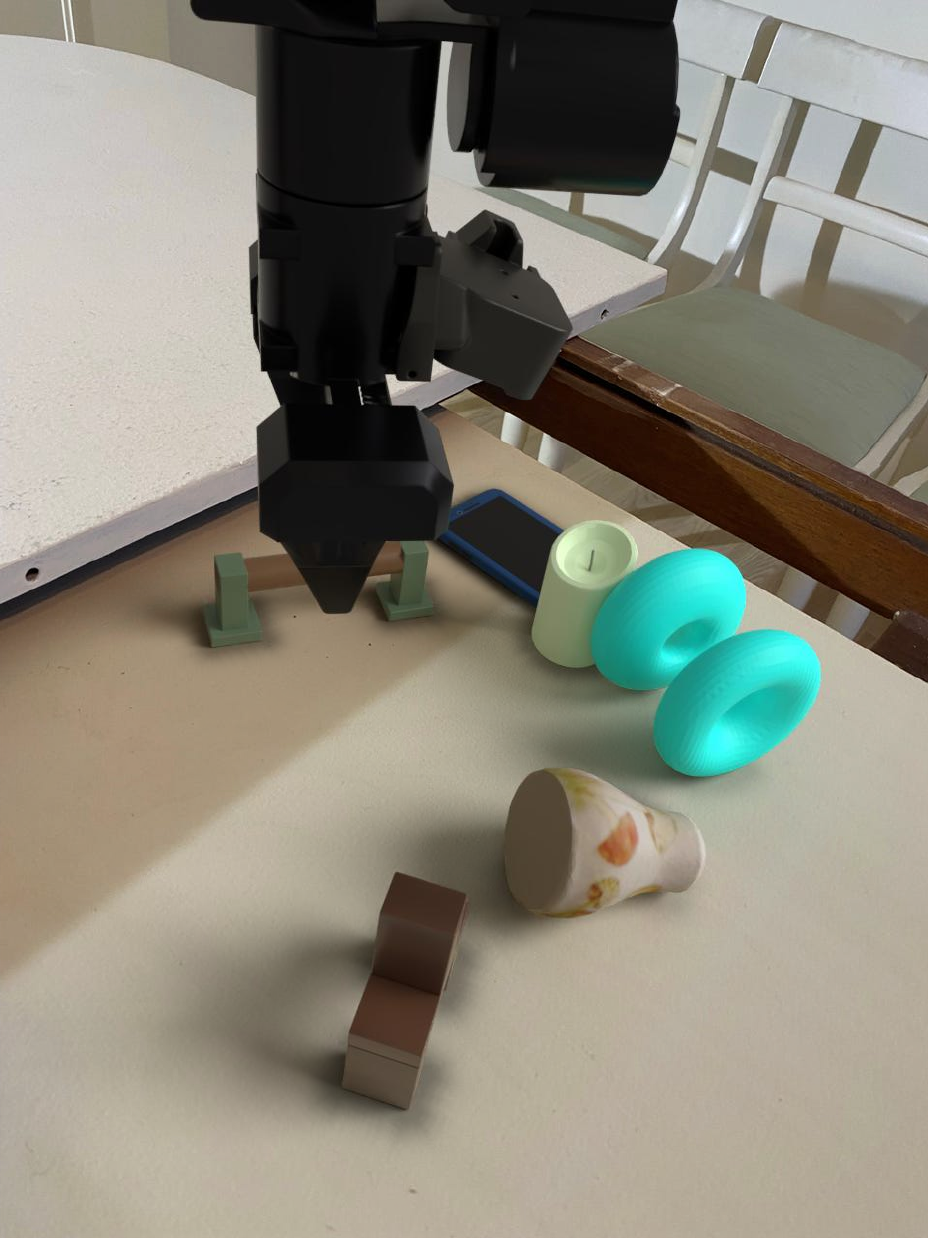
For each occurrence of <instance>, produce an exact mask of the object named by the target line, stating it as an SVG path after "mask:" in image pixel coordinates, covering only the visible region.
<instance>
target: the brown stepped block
mask: <svg viewBox="0 0 928 1238" xmlns="http://www.w3.org/2000/svg"><path fill="white" fill-rule="evenodd" d="M468 900H469V893H467V892H463V891H460V890H457V889H454V888H450V887H448V886H445V885H441V884H438V883H435V882H432V881H429V880H425V879H423V878H419V877H416V876H412V875H410V874H406V873H403V872H399V871H395V872H394V874H393V876H392V879H391V882H390V885H389V887H388V889H387V892H386V895H385V897H384V900H383V903H382V905H381V908H380V910H379V915H378V920H377V927H376V935H375V941H374V948H373V955H372V961H371V968H370V973H369V976H368V979H367V981H366V984H365V987H364V990H363V991H362V992H363V993H362V996H361V998H360V1000H359V1003H358V1006H357V1009H356V1012H355V1014H354V1017H353V1020H352V1022H351V1024H350V1028H349V1030H348V1035H347V1043H346V1051H345V1059H344V1068H343V1076H342V1077H343V1078H342V1083H341V1088H342V1089H345V1090H348V1091H351V1092H354V1093H357V1094H360V1095H362V1096H366V1097H369V1098H370V1099H371V1098H372V1099H375V1100H377V1101H381V1102H383V1103H387V1104H389V1105H392V1106H395V1107H398V1108H400V1109H404V1110H408V1111H409V1110H410V1109H411V1107H412V1104H413V1101H414V1097H415V1094H416V1091H417V1088H418V1084H419V1080H420V1078H421V1074H422V1070H423V1066H424V1062H425V1058H426V1053H427V1049H428V1046H429V1041H430V1038H431V1034H432V1033H431V1032H432V1029H433V1027H434V1023H435V1020H436V1016H437V1013H438V1010H439V1007H440V1004H441V1000H442V998H443V993H444V992H445V991H447V989H448V987H449V983H450V980H451V976H452V973H453V970H454V967H455V964H456V960H457V956H458V952H459V948H460V944H461V940H462V935H463V931H464V928H465V924H466V920H467V916H468V912H469V908H470V902H469V901H468Z"/></svg>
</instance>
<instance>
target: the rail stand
mask: <svg viewBox="0 0 928 1238" xmlns="http://www.w3.org/2000/svg"><path fill="white" fill-rule="evenodd" d="M429 556H430V550H429V548H428V546H427V544H426V541H386V543H385V544H384V546H383V548H382V549H381V551H380V553H379V554H378V556H377V558H376V560H375V562H374V564H373V566H372V569H371V571H370V573H369V575H368V577H367V578H369V577H377V576H386V575H387V576H388V575H390V578H389V580H385V581H378V582H376V586H375V593H376V595H377V597H378V600H379V602H380V604H381V606H382V609H383V610H384V613H385V615H386V617H387V621H389V622H395V621H402V620H403V621H404V620H408V619H415V618H416V619H417V618H423V617H429V616H430V617H431V616H433V615H434V614H435V608H436V607H435V603H434V602H433V599H431V596H430V594H429V592H428V590H427V588H426V586H425V585H426V576H427V569H428V563H429ZM213 571H214V572H213V573H214V601H215V603H209V604H203V605H202V617H203V620H204V625H205V628H206V631H207V635H208V640H209V643H210V646H211V648H218V647H219V648H220V647H227V646H234V645H240V644H246V643H252V642H261V641H262V640H263V630H262V627H261V623H260V621H259V617H258V614H257V611H256V608H255V604H254V601H253V599H252V598H249V593H255V592H256V593H257V592H262V591H271V590H278V589H279V590H280V589H285V588H286V589H287V588H294V587H302V586H307V584H306V582H305V581H304V579H303V577H302V576H301V574H300V572H299V571H298V569H297V567H296V566H295V564H294V563H293V561H292V559H291V558H290V556H289V555H288V553H287V552H286V553H279V554H269V555H261V556H253V557H243V554H242V552H241V551H239V552H232V553H223V554H214V555H213Z"/></svg>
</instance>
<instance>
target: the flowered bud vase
mask: <svg viewBox="0 0 928 1238" xmlns="http://www.w3.org/2000/svg"><path fill="white" fill-rule="evenodd" d="M503 835H504V837H503V853H504V868H505V869H504V870H505V877H506V882H507V885H508V889H509V890H510V893H511V895H512V897H513V898H514V900H516V904H518V905H519V906H520V907H522V908H524V909H525V910H528V911H530V912H533V913H534V914H537V915H539V916H543V917H548V918H553V919H574V918H579V917H584V916H588V915H592V914H595V913H597V912H599V911H602V910H604V909H607V908H609V907H612V906H613V905H615V904H618V903H620V902H623V901H624V900H627V899H630V898H633V897H634V896H637V895H640V894H644V893H655V892H656V893H675V894H678V893H679V894H681V893H683V892H686V891H688V890H689V889H690V888H691V887H693V885H694V884H695V883H696V881H698V879H699V878H700V877H701V875H702V873H703V871H704V868H705V865H706V860H707V851H706V843H705V839H704V837H703V835H702V832H701V830H700V829H699V828H698V827H697V825H696V823H695V821H693V820H692V819H691V818H690V817H689V816H688V815H686V814H684V813H682V812H677V811H670V810H669V811H668V810H661V809H656V808H652V807H649V806H648V805H647V806H646V805H644V804H643V803H641V802H638V800H635V798H633V797H631V796H629V795H628V794H626V793H625V792H623V791H622V790H620V789H618V788H617V787H615V786H614V785H613V784H610V783H609V782H607V781H606V780H604V779H602V778H600V777H599V776H596V775H595V774H593V773H589V772H587V771H585V770H581V769H578V768H573V767H563V766H562V767H545V768H541V769H538V770H534V771H532V772H530V773H529V774H528V775H526V777H524V778H523V780H522V781H521V782H520V784H519V785H518V787H517V788H516V791H515V793H514V795H513V797H512V800H511V802H510V805H509V807H508V812H507V817H506V823H505V828H504V834H503Z"/></svg>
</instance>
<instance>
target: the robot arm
mask: <svg viewBox="0 0 928 1238" xmlns="http://www.w3.org/2000/svg"><path fill="white" fill-rule="evenodd" d="M678 1H679V0H189V6H190V9H191V12H192V13H193V14H194V16H195V17H196V18H198V19H199V20H202V21H205V22H206V21H207V22H217V23H229V24H241V25H252V26H254V60H255V61H254V63H255V65H254V66H255V67H254V70H255V71H254V72H255V131H256V132H255V133H256V134H255V136H256V137H255V138H256V140H255V141H256V144H255V145H256V173H255V205H256V206H255V210H256V223H257V239H256V240H254V242H253V243H252V244H250V246H249V247H248V272H249V276H248V279H249V280H248V281H249V283H248V284H249V307H250V309H249V310H250V315H252V316H251V317H252V338H253V340H254V344H255V346H256V348H257V351H258V354H259V360H260V372H261V373H265V372H266V373H267V377H268V379H269V381H270V384H271V387H272V388H273V391H274V394H275V396H276V399H277V401H278V404H279V407H278V408H277V409H276V410H274V411H273V412H272V413H271V414H270V415H268V416H267V417H266V418H265V419H264V420H262V421H261V422H260V423H259V424H257V426H256V472H257V473H256V474H257V475H256V476H257V477H256V478H257V494H258V495H257V500H258V501H257V502H258V503H257V504H258V524H259V525H258V526H259V528H258V529H259V533H261V534H262V535H264V536H266V537H268V538H269V539H270V540H272V541H275V542H276V543H279V544H281V546H282V548H283V549H284V551H285V552H286V553H288V555H289V556H290V558H291V559H292V561H293V563H294V564H295V566H296V567H297V569H298V571H299V572H300V574H301V576H302V577H303V579H304V581H305V582H306V584H307V585H306V586H307V587H308V589H309V591H310V592H311V594H312V596H313V597H314V599H315V601H316V603H317V604H318V606H319V608H320V610H321V611H322V612H323V613H324V614H325V615H346V614H349V613H351V612H352V611H353V608H354V607H355V604H356V602H357V600H358V598H359V595H360V594H361V592H362V590H363V587H364V585H365V583H366V581H367V579H368V578H369V577H368V575H369V573H370V571H371V569H372V566H373V564H374V562H375V560H376V558H377V556H378V554H379V553H380V551H381V549H382V548H383V546H384V544H385V543H386V542H387V541H424V542H435V541H436V540H437V539H438V537H440V536H441V535H442V534H444V533H445V532H446V531H448V526H449V519H450V512H451V508H452V504H453V496H454V488H455V483H454V480H453V476H452V473H451V468H450V466H449V465H450V464H449V461H448V458H447V455H446V450H445V446H444V444H443V443H444V442H443V439H442V437H441V436H442V435H441V433H440V429H439V428H438V426H436V425H435V423H434V422H432V421H431V420H430V419H429V418H428V417H427V416H426V415H425V414H424V413H423V412H422V411H421V410H420V409H419V408H418V407H417V406H416V405H410V404H409V405H408V404H407V405H405V404H404V405H403V404H401V405H400V404H393V402H392V398H391V394H390V388H389V384H388V378H387V375H388V376H389V375H390V376H393V375H394V376H395V378H396V380H397V381H398V382H408V383H411V382H412V383H431V382H432V374H433V365H434V361H436V362H437V363H439V364H441V365H442V366H444V367H446V368H448V369H450V370H453V371H455V372H458V373H461V374H464V375H466V376H469V377H472V378H474V379H477V380H480V381H482V382H485V383H488V384H491V385H493V386H497V387H499V388H502V389H503V391H504V394H505V396H506V395H507V396H508V397H511V398H514V399H517V400H520V401H528V400H532V399H533V398H534V396H535V394H536V393H537V391H538V389H539V388H540V387H541V384H542V382H543V381H544V379H545V378H546V377H547V374H548V373H549V371H550V369H551V367H552V366H553V364H554V362H555V360H556V359H557V357H558V356H559V354H560V352H561V351H562V349H563V347H564V345H565V343H566V342H567V340H568V339H569V337H570V336H571V333H572V331H573V330H574V327H573V324H572V322H571V320H570V318H569V316H568V314H567V312H566V310H565V308H564V305H563V304H562V302H561V300H560V298H559V297H558V294H557V292H556V291H555V289H554V287H553V286H552V285H551V284H550V283H549V282H548V281H546V280H545V279H544V278H543V277H542V276H541V274H540V272H539V270H538V269H537V268H536V267H534V266H532V265H529V264H528V266H527V268H523V267H524V239H523V237H522V235H521V233H520V231H519V229H518V228H517V226H516V223H515V222H514V221H512V220H510V219H508V218H506V217H503V216H502V215H500V214H497V213H494V212H493V211H490V210H488V209H483V210H481V211H480V212H479V213H478V214H477V215H475V216H474V217H473V218H472V219H470V220H469V221H468V222H467V223H466V224H464V225H463V226H462V227H460V228H458V230H457V231H452V230H448V231H447V233H446V235H445V236H442V235H440V234H439V233H438V231H434V230H433V228H432V225H431V221H430V219H429V217H428V215H429V206H428V193H429V183H430V171H431V162H432V150H433V140H434V129H435V120H436V119H435V118H436V108H437V98H438V86H439V77H440V67H441V56H442V47H443V46H442V45H443V42H446V43H452V44H451V45H452V46H451V52H450V58H449V65H448V73H447V86H446V127H447V138H448V143H449V147H450V149H451V151H452V153H459V154H460V153H463V154H471V153H473V160H474V168H475V173H476V176H477V179H478V181H479V184H480V185H481V186H482V187H484V188H492V189H493V188H495V189H512V190H526V191H527V190H528V191H544V192H559V193H560V192H562V193H574V194H577V193H578V194H594V195H606V196H607V195H608V196H627V197H642V196H646V195H648V194H649V193H650V192H651V191H652V190H653V189H655V187H656V185H657V184H658V182H659V180H660V179H661V178H662V176H663V174H664V172H665V169H666V167H667V164H668V162H669V160H670V157H671V154H672V151H673V148H674V145H675V141H676V138H677V133H678V129H679V126H680V125H679V124H680V120H681V108H680V106H679V105H678V104H677V99H678V90H679V73H680V59H679V58H680V57H679V56H680V55H679V42H678V41H679V40H678V36H677V31H676V25H675V23H674V19H675V15H676V10H677V7H678V6H677V5H678ZM361 398H362V399H361Z"/></svg>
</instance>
